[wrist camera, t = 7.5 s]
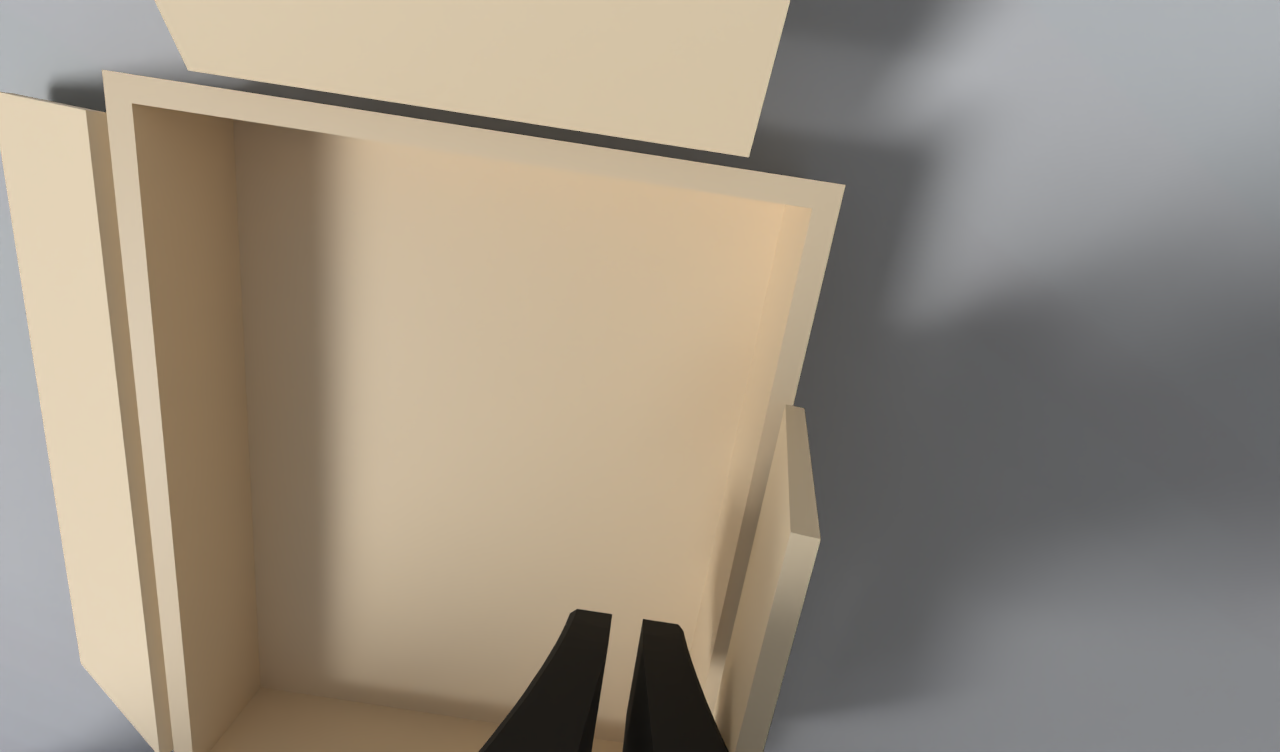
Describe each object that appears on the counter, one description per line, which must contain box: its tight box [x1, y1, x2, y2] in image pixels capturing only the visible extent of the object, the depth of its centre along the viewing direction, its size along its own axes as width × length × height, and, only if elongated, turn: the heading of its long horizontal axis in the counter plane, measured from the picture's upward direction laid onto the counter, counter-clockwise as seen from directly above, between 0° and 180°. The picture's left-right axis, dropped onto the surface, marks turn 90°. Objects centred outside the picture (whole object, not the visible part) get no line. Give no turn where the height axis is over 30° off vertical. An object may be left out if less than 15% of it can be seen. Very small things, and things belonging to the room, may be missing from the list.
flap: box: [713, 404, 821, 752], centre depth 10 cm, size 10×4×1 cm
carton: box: [0, 70, 845, 752], centre depth 13 cm, size 18×15×3 cm
